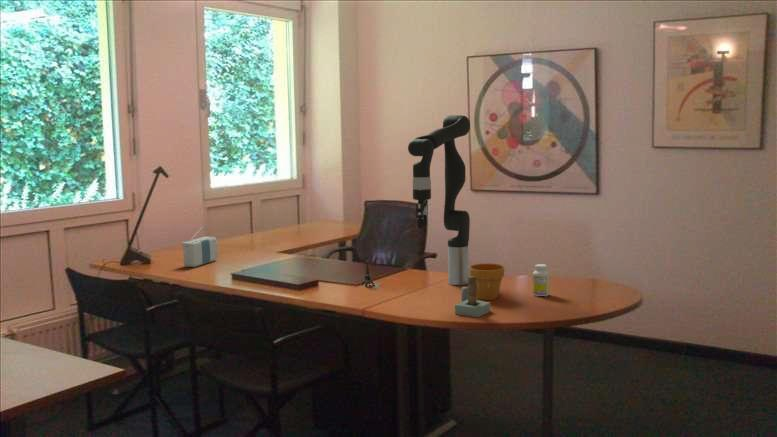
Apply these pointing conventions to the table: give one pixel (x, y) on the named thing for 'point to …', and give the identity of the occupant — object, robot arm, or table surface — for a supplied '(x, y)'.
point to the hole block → (472, 308)
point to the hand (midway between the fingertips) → (422, 226)
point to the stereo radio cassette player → (199, 251)
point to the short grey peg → (464, 293)
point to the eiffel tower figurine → (369, 279)
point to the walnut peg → (472, 291)
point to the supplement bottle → (541, 280)
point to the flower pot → (487, 280)
